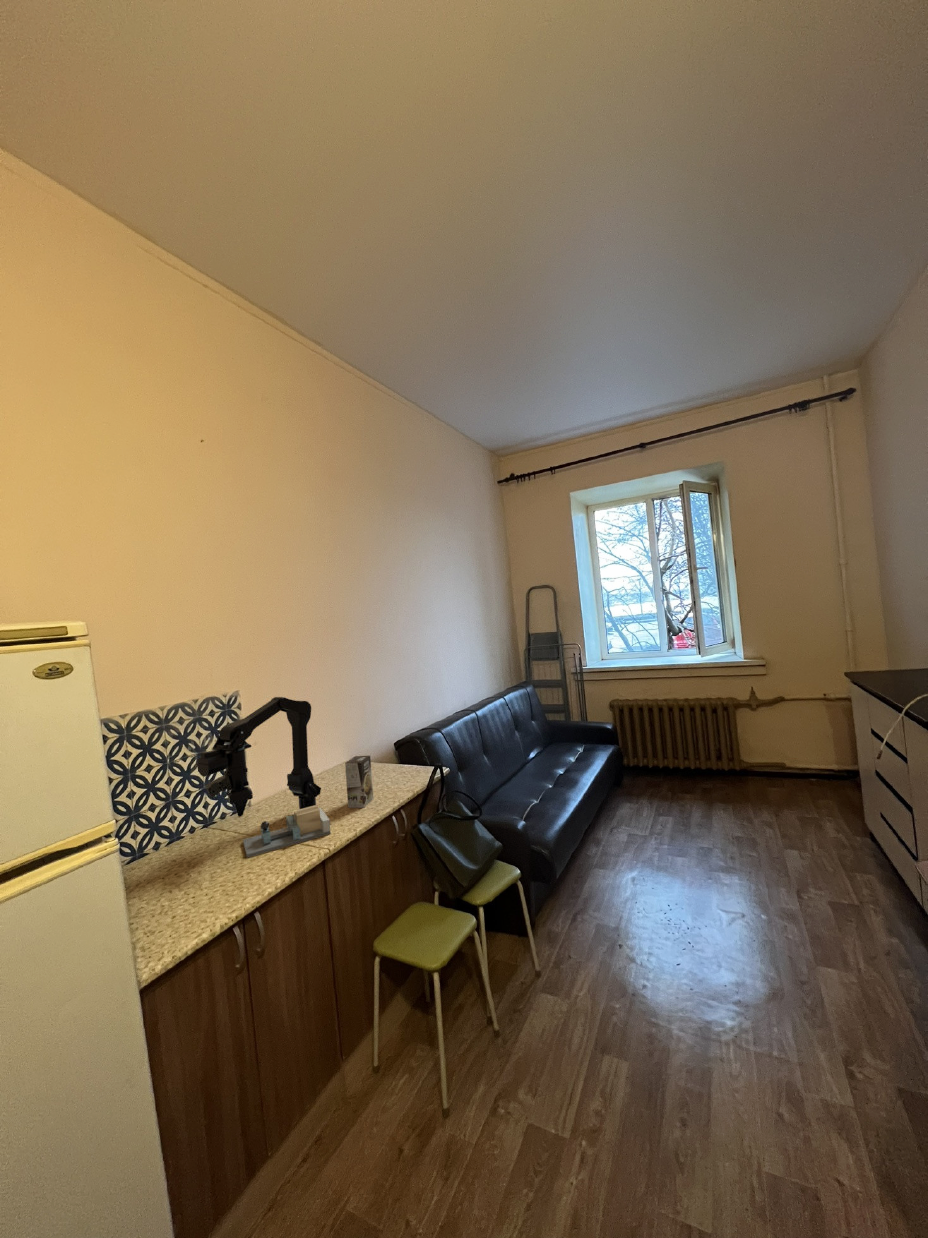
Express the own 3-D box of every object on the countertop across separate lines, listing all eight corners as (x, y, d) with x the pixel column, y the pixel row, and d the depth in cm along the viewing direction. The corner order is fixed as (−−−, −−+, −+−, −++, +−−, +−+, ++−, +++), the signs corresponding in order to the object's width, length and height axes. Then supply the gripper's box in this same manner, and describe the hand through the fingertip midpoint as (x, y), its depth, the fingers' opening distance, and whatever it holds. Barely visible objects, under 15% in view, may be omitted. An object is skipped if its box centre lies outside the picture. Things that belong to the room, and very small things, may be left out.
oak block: (295, 829, 153) (293, 810, 153) (317, 823, 157) (316, 805, 157) (298, 835, 149) (296, 815, 149) (321, 828, 152) (319, 809, 152)
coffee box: (364, 808, 170) (361, 762, 170) (347, 808, 171) (344, 762, 171) (374, 798, 179) (371, 755, 179) (358, 798, 180) (354, 755, 180)
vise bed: (243, 842, 149) (241, 828, 149) (321, 821, 161) (320, 808, 161) (247, 858, 138) (245, 842, 138) (330, 834, 150) (329, 819, 150)
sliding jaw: (259, 834, 151) (258, 816, 151) (293, 825, 156) (291, 807, 156) (264, 848, 141) (263, 829, 141) (300, 838, 146) (299, 819, 146)
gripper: (204, 765, 151) (209, 814, 151) (207, 780, 135) (212, 835, 135) (243, 757, 157) (247, 804, 157) (250, 770, 141) (255, 823, 141)
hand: (240, 816), depth 147 cm, fingers closed
